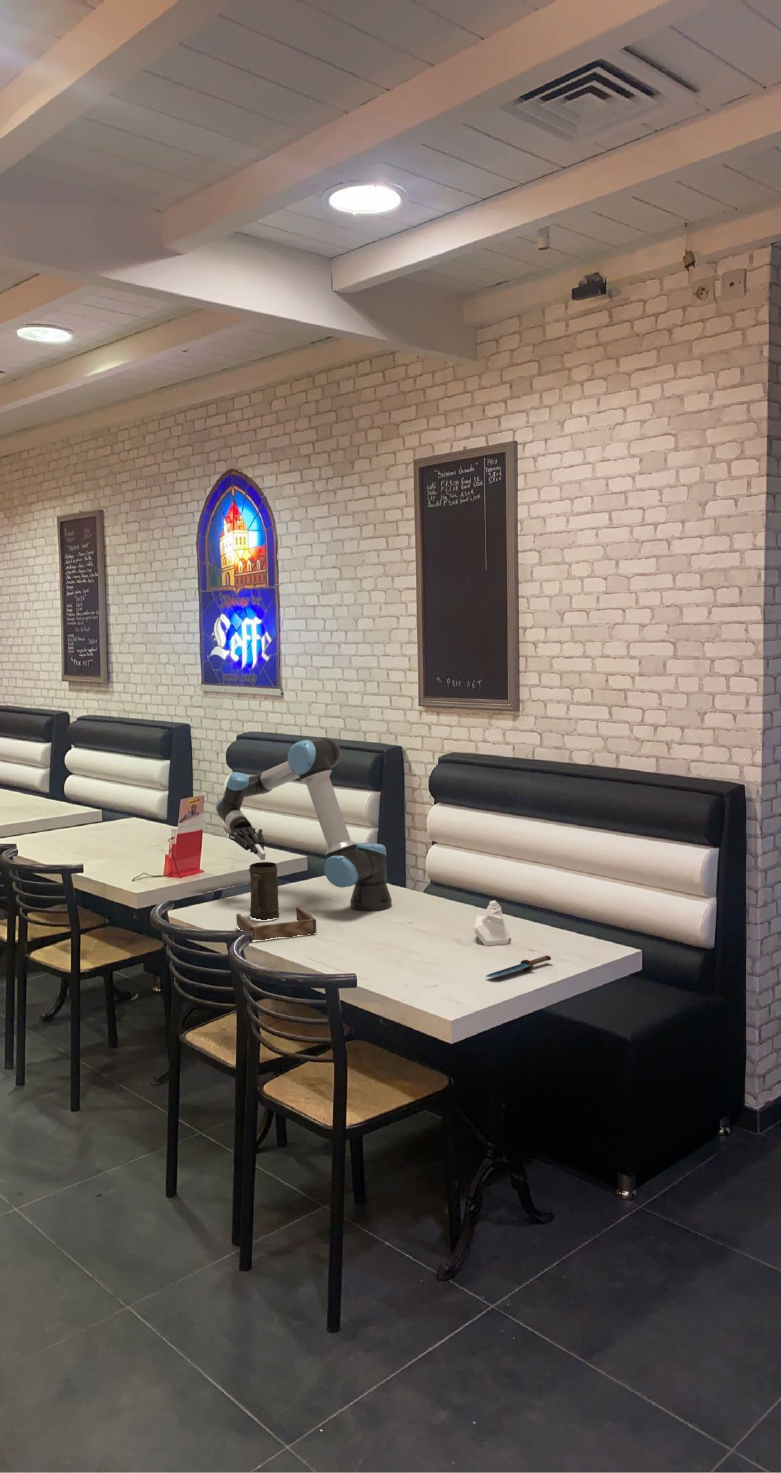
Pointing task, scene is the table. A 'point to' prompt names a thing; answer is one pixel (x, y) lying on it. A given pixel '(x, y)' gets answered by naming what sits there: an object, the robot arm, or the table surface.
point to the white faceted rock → (492, 926)
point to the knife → (520, 966)
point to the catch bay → (280, 927)
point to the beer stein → (264, 891)
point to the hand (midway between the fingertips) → (263, 856)
